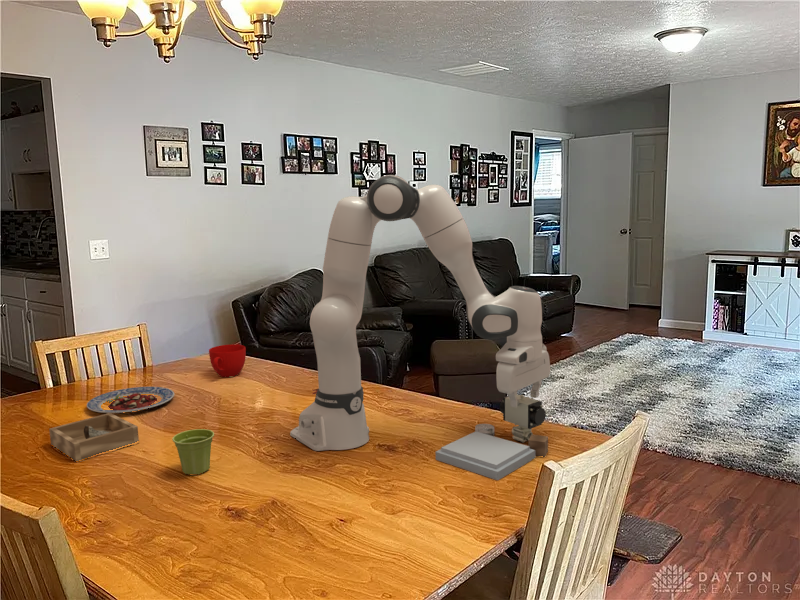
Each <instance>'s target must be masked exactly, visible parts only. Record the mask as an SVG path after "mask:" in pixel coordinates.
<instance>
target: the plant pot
mask: <svg viewBox="0 0 800 600" xmlns="http://www.w3.org/2000/svg"><path fill="white" fill-rule="evenodd" d="M214 436H215V432H214V431H213V430H211V429H205V428H196V429H195V428H194V429H189V430H185V431H181V432H179V433H177V434H175V435H174V436H173V437H171V438H172V442H173V443H174V445H175V447H176V450H177V452H178V453H177V454H178V458H179V461H180V467H181V469H182V473H183V472H184V473H185V474H184V473H183V474H184V475H189V474H198V475H201V474H200V473H202V474H204V473H205V472H207V471H209V470H210V467H211V466H210V465H211V454H212V453H211V451H212V442H213V438H214ZM208 469H209V470H208ZM203 472H204V473H203Z"/></svg>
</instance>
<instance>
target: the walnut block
mask: <svg viewBox="0 0 800 600" xmlns="http://www.w3.org/2000/svg"><path fill="white" fill-rule="evenodd" d="M528 446H530V449H533V450H535V457H537V456H543V457H542V458H544V457H545V456H547V454H548V453H549V452H548V451H549V436H547V435H542V434H541V435H540V434H532V435H531V437H530V439H529V440H528ZM545 458H546V457H545Z"/></svg>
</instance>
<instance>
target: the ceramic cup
mask: <svg viewBox="0 0 800 600" xmlns="http://www.w3.org/2000/svg"><path fill="white" fill-rule="evenodd" d="M246 351H247V349H246V346H245V345H242V344H235V343H233V344H221V345H217V346H213V347H211V348H209V349H208V354H209V360H210V361H209V362H210V364H211V367H212V369H213V370H214V371H215V373H216V374H217V375H218V376H219V377H220V376H222V377H221V378H230V377H229V376H234V377H236V376H235V375H237V376H238V375H239V374H240V373H241V372H242V370H243V368H244V365H245V363H246V357H247V355H246V354H247V353H246Z"/></svg>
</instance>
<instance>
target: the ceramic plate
mask: <svg viewBox="0 0 800 600" xmlns="http://www.w3.org/2000/svg"><path fill="white" fill-rule="evenodd" d="M141 394H154V395H158V396H160V397H161V398H162V399H161V401H160V402H158V403H156V404H153V405H151V404H152V403H154V402H155V401H157V398H156V397H155V396H153V395H148V396H147V395H141ZM129 395H130V396H129ZM123 396H127V397H123ZM119 397H120V398H119ZM174 397H175V392H174V390H173V389H170V388H167V387H163V386H161V387H160V386H136V387H135V386H134V387H128V388H123V389H122V388H121V389H117V390H113V391H109V392H105V393H102V394H100V395H97V396H95V397H93V398H92V399H90V400H89V401H88V402H87V403H86V408H87V409H88V410H90V411H92V412H97V413H103V414H107V413H111V414H124V413H123V412H131V413H133V412H132V411H138V410H142V411H144V410H143V409H146V410H149V409H152V408H154V407H158V406H161V405H163V404H166V403H167V402H169V401H171V400H172V399H173V398H174ZM111 399H113V400H115V401H113V400H111ZM106 401H107V402H108V401H109V403H110V402H112V401H113V402H112V403H111V404H110V405H109V406H108V407H109V408H110V409H113V410H103V409H102V408H101V405H102V404H103V403H105V402H106ZM149 405H150V406H149ZM148 408H149V409H148ZM138 412H139V411H138Z"/></svg>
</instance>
